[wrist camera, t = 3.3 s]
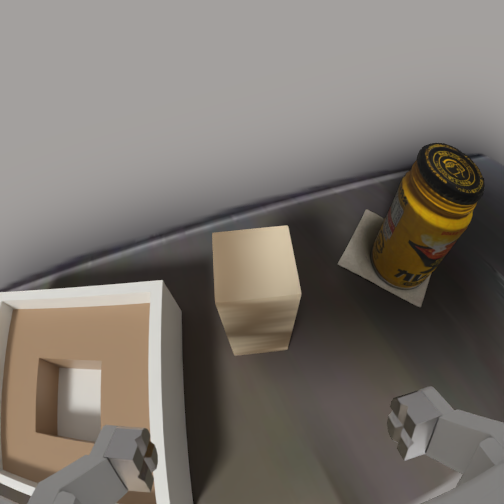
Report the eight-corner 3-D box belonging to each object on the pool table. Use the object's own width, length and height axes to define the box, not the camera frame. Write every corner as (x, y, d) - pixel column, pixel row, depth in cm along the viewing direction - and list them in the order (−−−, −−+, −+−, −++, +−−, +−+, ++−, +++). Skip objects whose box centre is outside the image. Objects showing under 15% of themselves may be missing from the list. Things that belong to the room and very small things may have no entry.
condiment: (419, 308, 24) (495, 223, 14) (336, 265, 27) (372, 158, 16) (437, 248, 27) (494, 159, 17) (365, 211, 30) (397, 110, 20)
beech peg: (280, 302, 25) (287, 225, 16) (287, 349, 23) (301, 293, 14) (230, 307, 25) (212, 233, 16) (234, 355, 23) (215, 303, 14)
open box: (181, 311, 25) (162, 279, 20) (193, 508, 16) (173, 527, 11) (32, 317, 24) (-2, 292, 20) (25, 476, 16) (-16, 474, 11)
